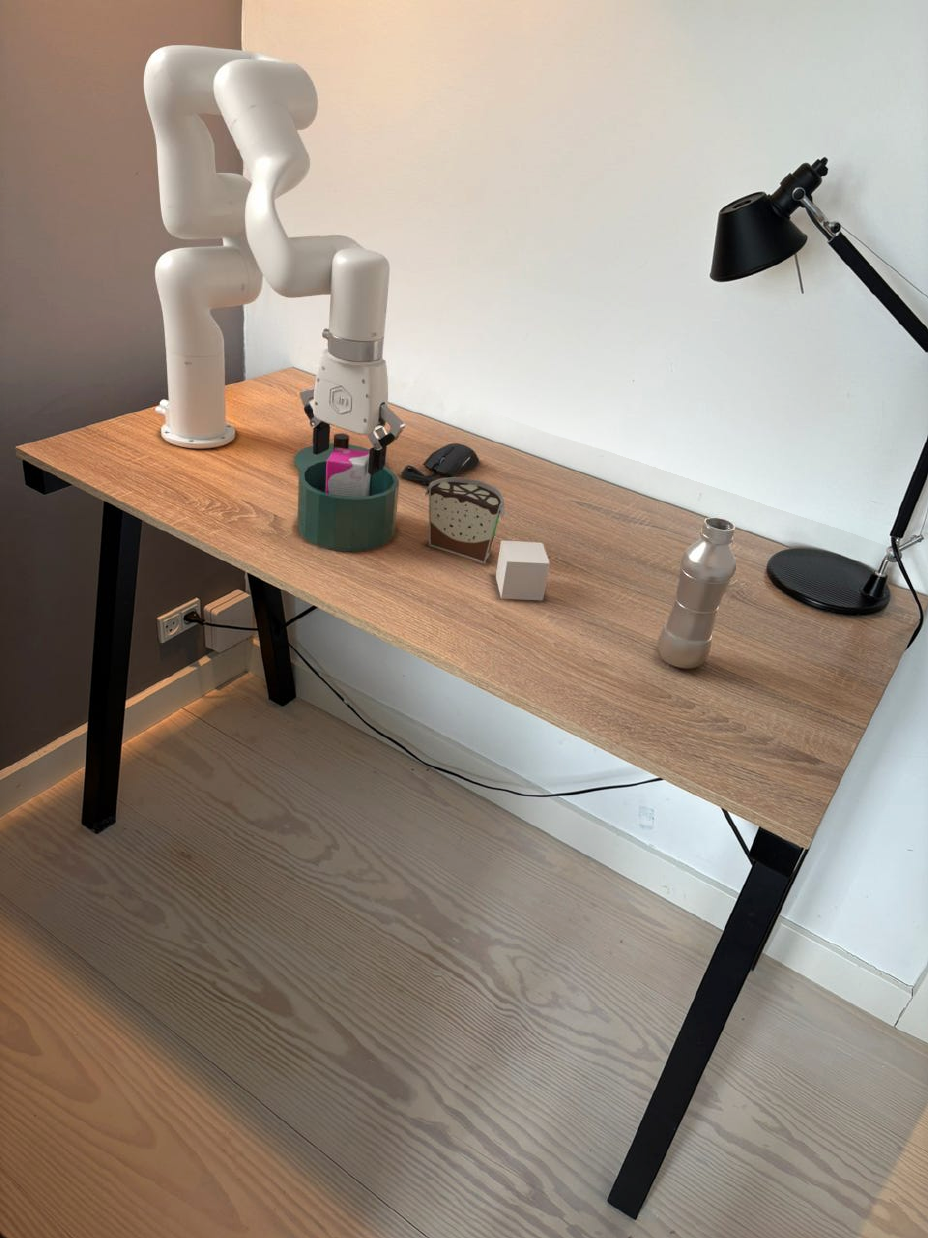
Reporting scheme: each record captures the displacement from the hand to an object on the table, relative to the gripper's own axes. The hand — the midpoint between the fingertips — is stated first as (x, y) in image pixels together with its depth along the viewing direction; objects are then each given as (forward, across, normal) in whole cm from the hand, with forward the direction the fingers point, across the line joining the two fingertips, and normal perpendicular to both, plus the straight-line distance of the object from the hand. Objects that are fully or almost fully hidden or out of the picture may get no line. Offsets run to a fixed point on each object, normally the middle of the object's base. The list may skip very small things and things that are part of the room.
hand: (347, 461), depth 137 cm
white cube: (+10, +30, +1) cm, 31 cm away
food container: (+11, +18, +7) cm, 22 cm away
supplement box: (+11, +1, 0) cm, 11 cm away
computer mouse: (+11, +4, +29) cm, 31 cm away
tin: (+11, +1, 0) cm, 11 cm away
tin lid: (+11, -13, +18) cm, 25 cm away
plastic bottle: (+10, +55, -2) cm, 56 cm away
